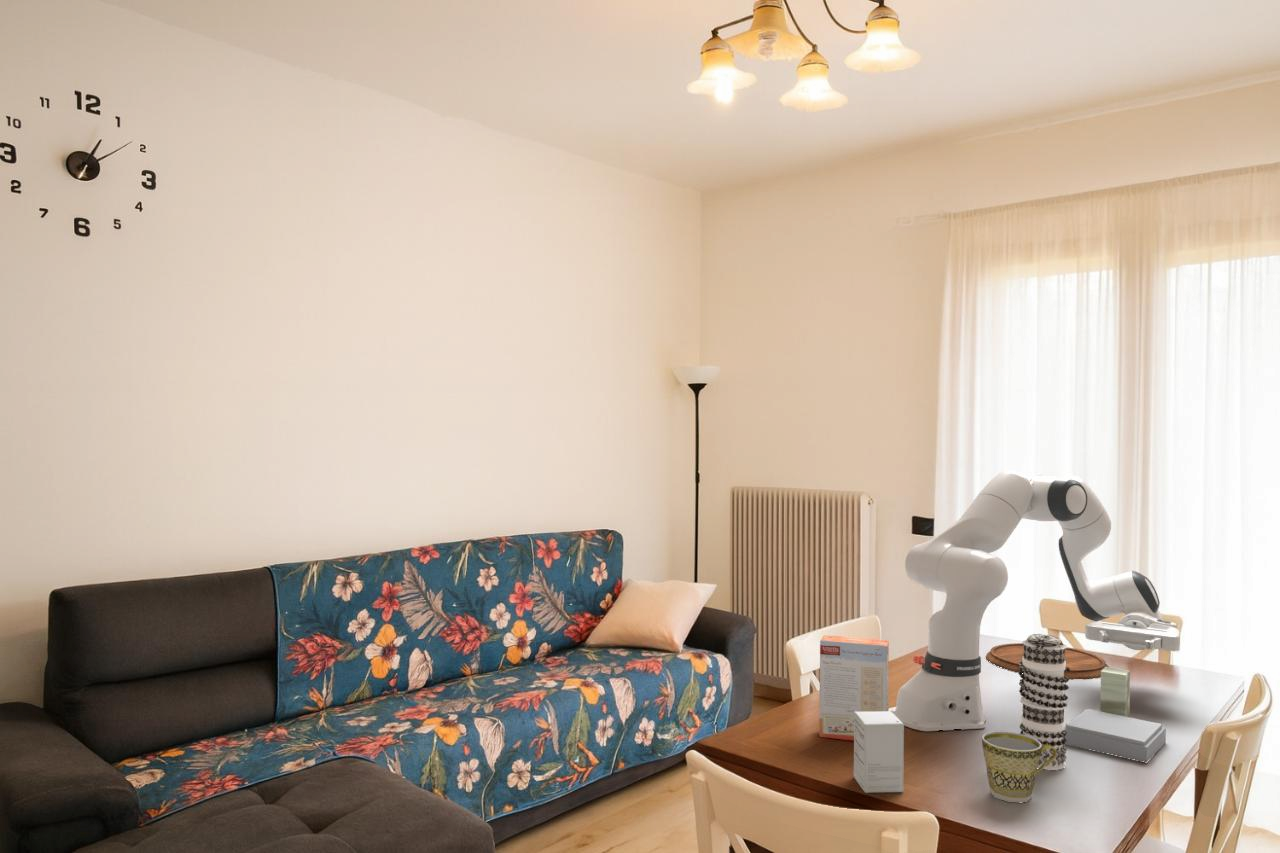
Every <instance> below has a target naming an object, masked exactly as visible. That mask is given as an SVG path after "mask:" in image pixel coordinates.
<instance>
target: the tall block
mask: <svg viewBox="0 0 1280 853" xmlns="http://www.w3.org/2000/svg"><path fill="white" fill-rule="evenodd" d="M1130 690H1131V670H1127V669H1122V668H1121V669H1120V668H1116V667H1110V666H1109V667H1105V668H1104V669H1103V670H1102V671H1101V678H1100V700H1099V701H1100V706H1099V707H1100V710H1099V711H1100V712H1105V713H1110V714H1115V715H1120V716H1125V717H1129V718H1130V704H1131V703H1130V699H1131V698H1130V696H1131V694H1130Z"/></svg>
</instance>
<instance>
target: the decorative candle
mask: <svg viewBox="0 0 1280 853" xmlns="http://www.w3.org/2000/svg"><path fill="white" fill-rule="evenodd" d="M1021 643H1023V644H1024V648H1023V654H1024V656H1023V658H1022V661H1020V662H1019V665H1018V666H1019V668H1020V672H1019V673H1018V675H1019V677H1020V678H1021V679H1019V682H1018V684H1019V686H1020V688H1019V690H1018V691H1019V693H1020V696H1021V697H1020V703H1021V704H1022V714H1021V723H1020V725H1019V728H1020V730H1021V731H1020V732H1019V734H1023V735H1027V736H1030V737H1032V738H1034V739H1036V740H1038V741H1039V742H1040V743H1041V744H1042V745H1045V744H1047V745H1051V746H1053V747H1054V748H1055V750H1056V757H1055V759H1054V760H1053V761H1052V762H1050V763H1049V764H1047V765H1046V766H1045V767H1044V768H1043V769H1046V770H1045V771H1050V770H1056V769H1062V768H1064V767H1065V766H1067V765H1066V764H1067V763H1066V761H1067V758H1068V757H1067V756H1066V753H1067V751H1068V749H1067V747H1066V744H1065V743H1066V741H1067V740H1066V739H1065V737H1064V736H1065V735H1066V734H1067V731H1066V730H1065V726H1066V720H1065V710H1066V709H1067V707H1068V706H1067V705H1068V704H1067V702H1065V701H1067V700H1068V699H1069V698H1068V697H1069V696H1068V695H1066V694H1065V691H1067V690H1069V685H1067V683H1068V682H1069V681H1070V679H1069V678H1068V677H1066V676H1064V671H1066V672H1067V671H1069V670H1070V668H1068V667H1066V661H1065V648H1068V646H1067V645H1066V644H1064V643H1063V641H1062V639H1060V638H1059V637H1057V636H1056V635H1052V634H1051V635H1050V634H1045V633H1033V634H1030V635H1029V636H1028V637H1027V638H1026V640H1022V642H1021ZM1022 673H1023V674H1022ZM1053 755H1054V751H1053V749H1046V750H1044V751H1043V752H1042V753H1041V755H1040V759H1039V764H1038V768H1040V767H1041V766H1042V765H1043V764H1044V763H1045V762H1046V761H1048V760H1049V759H1051V758H1052V757H1053ZM1065 768H1066V767H1065ZM1065 768H1064V769H1065ZM1047 769H1048V770H1047ZM1062 770H1063V769H1062ZM1056 771H1057V770H1056Z"/></svg>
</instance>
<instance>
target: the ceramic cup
mask: <svg viewBox="0 0 1280 853" xmlns="http://www.w3.org/2000/svg"><path fill="white" fill-rule="evenodd" d="M981 745H982V750H983V751H982V752H983V757H984V760H985V767H986V774H987V778H988V779H987V780H988V786H989V787H988V788H989V792H990V794H991V793H992V794H993V795H994V796H993V795H992V794H991V795H992V796H993V797H994V798H995V797H996V798H999V799H1002V800H1005V801H1008V802H1007V803H1009V802H1022V803H1021V804H1024V803H1023V802H1026V803H1028V802H1029V801H1031V800H1032V798H1033V793H1034V786H1035V781H1036V777H1037V775H1038V773H1039V772H1041V771H1043V770H1042V769H1043V768H1044V767H1045V766H1046V765H1047V764H1049V763H1050V762H1052V761H1053V760H1054V759H1055V757H1056V750H1055V748H1054V747H1053V746H1051V745H1047V744H1045V745H1042V744H1041V743H1040V742H1039V741H1038V740H1036V739H1034V738H1032V737H1030V736H1027V735H1023V734H1020V732H1013V731H1003V730H1002V731H999V730H997V731H989V732H986V733H983V735H982V736H981ZM1046 749H1053V751H1054V755H1053V757H1052V758H1051V759H1049V760H1048V761H1046V762H1045V763H1044V764H1043V765H1042V766H1041V767H1040V768H1039V769H1037V768H1038V764H1039V759H1040V755H1041V753H1042V752H1043V751H1044V750H1046ZM996 798H995V799H996ZM999 799H998V800H999ZM1030 799H1031V800H1030ZM1002 800H1001V801H1002ZM1028 800H1029V801H1028ZM1005 801H1004V802H1005ZM1027 801H1028V802H1027Z"/></svg>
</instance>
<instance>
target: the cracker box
mask: <svg viewBox="0 0 1280 853" xmlns="http://www.w3.org/2000/svg"><path fill="white" fill-rule="evenodd" d="M889 642H890V641H889V640H888V639H878V638H877V639H876V638H864V637H863V638H862V637H855V636H854V637H852V636H840V635H839V636H838V635H829V634H828V635H827V634H825V635H823V636H822V638H821V639H820V641H819V706H818V707H819V716H818V717H819V722H818V723H819V726H818V727H819V735H818V736H819V737H820V738H828V739H836V740H843V741H844V740H845V741H853V742H854V712H879V711H888V708H889V701H890V700H889V699H890V698H889V694H890V693H889V679H890V678H889V675H890V674H889V673H890V672H889V667H890V666H889V661H890V659H889V656H890V654H889V649H890V648H889Z"/></svg>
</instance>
